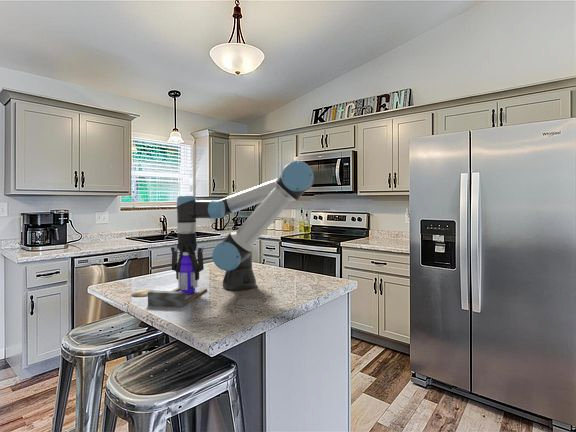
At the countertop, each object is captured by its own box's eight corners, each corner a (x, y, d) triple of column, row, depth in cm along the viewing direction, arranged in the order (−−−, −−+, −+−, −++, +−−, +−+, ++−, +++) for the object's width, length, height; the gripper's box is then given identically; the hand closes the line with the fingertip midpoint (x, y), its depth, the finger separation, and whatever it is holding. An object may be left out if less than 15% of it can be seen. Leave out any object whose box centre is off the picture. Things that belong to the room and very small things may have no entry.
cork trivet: (159, 291, 142) (159, 290, 142) (146, 297, 133) (146, 295, 133) (140, 290, 144) (140, 289, 144) (126, 296, 135) (126, 294, 135)
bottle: (183, 290, 143) (182, 250, 142) (196, 290, 143) (195, 250, 143) (179, 295, 136) (178, 253, 135) (193, 295, 136) (192, 252, 136)
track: (207, 290, 142) (206, 279, 142) (182, 307, 120) (181, 293, 120) (177, 289, 145) (177, 278, 144) (147, 305, 123) (147, 292, 122)
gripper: (211, 231, 141) (212, 285, 142) (170, 231, 144) (171, 284, 145) (204, 233, 133) (205, 290, 134) (161, 233, 137) (162, 288, 137)
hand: (188, 287), depth 140 cm, fingers closed on bottle, 6 cm apart
